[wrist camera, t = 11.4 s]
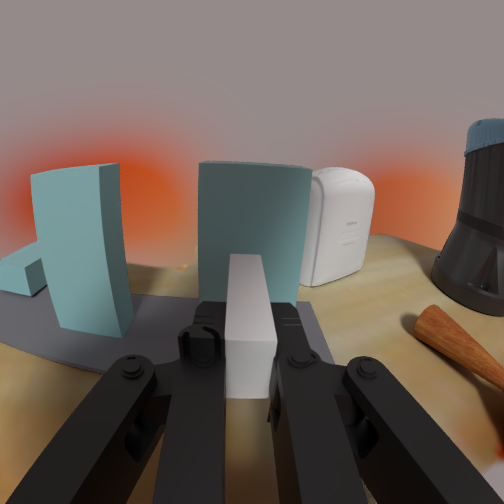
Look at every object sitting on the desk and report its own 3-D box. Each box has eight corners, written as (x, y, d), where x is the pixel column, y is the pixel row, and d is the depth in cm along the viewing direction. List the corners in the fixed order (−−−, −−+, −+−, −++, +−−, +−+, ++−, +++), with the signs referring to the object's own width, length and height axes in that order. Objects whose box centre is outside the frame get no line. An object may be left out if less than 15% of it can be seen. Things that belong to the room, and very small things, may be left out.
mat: (308, 305, 25) (309, 301, 24) (340, 385, 15) (341, 381, 15) (4, 279, 22) (4, 277, 22) (-43, 321, 13) (-45, 317, 13)
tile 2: (135, 314, 20) (120, 162, 16) (122, 338, 17) (98, 166, 13) (77, 307, 20) (56, 169, 16) (60, 327, 17) (30, 175, 13)
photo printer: (310, 292, 27) (327, 167, 22) (283, 276, 30) (294, 162, 26) (366, 271, 32) (383, 174, 28) (341, 260, 36) (354, 168, 31)
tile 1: (282, 322, 21) (300, 165, 17) (288, 348, 18) (312, 169, 14) (206, 320, 21) (206, 160, 16) (201, 346, 18) (198, 163, 14)
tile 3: (31, 298, 20) (85, 258, 31) (24, 267, 19) (82, 235, 30) (-1, 291, 19) (53, 256, 31) (-7, 263, 18) (50, 234, 30)
